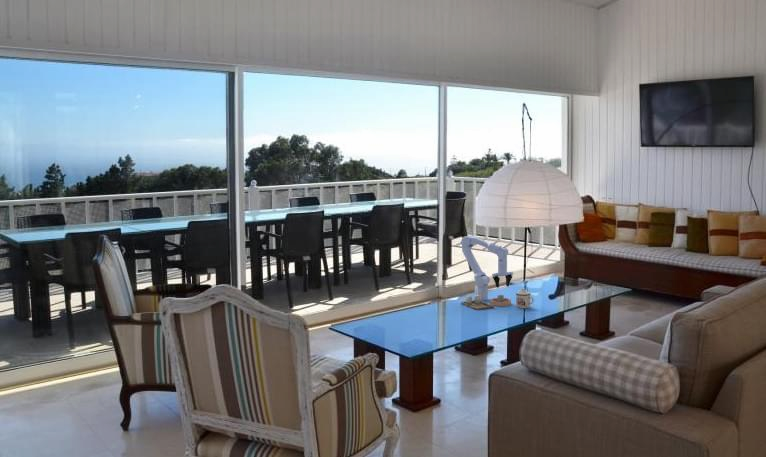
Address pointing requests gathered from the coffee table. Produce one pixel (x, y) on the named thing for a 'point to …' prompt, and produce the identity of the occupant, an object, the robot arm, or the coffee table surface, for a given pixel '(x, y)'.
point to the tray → (478, 307)
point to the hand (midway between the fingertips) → (502, 286)
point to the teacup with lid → (523, 299)
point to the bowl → (495, 303)
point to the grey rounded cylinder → (500, 298)
